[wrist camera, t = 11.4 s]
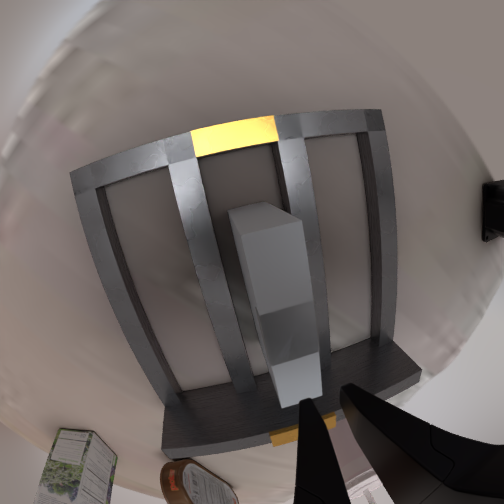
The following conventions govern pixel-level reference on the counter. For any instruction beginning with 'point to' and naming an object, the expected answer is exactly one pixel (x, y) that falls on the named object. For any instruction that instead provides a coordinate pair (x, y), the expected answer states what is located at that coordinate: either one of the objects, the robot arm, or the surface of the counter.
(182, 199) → the rack
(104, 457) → the syrup box
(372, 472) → the smoothie
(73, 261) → the counter surface
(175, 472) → the tin
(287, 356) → the panel
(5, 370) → the counter surface
